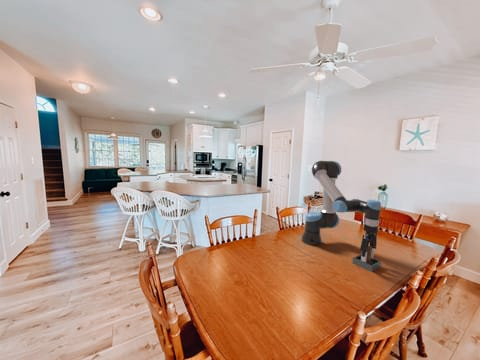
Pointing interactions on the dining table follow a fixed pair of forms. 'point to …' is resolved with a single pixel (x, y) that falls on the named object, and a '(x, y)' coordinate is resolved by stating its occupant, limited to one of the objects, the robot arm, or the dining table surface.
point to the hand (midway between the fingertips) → (367, 259)
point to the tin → (371, 267)
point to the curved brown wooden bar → (368, 254)
